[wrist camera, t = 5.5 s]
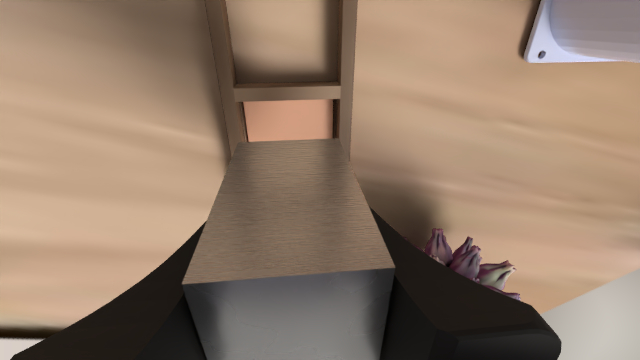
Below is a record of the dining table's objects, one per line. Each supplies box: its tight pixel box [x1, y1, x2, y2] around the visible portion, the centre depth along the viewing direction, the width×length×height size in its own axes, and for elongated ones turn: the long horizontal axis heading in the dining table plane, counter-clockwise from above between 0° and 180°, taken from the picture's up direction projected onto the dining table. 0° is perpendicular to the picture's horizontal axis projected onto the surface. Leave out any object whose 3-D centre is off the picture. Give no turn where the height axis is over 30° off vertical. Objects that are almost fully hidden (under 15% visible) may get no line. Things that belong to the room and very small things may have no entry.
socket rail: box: [205, 0, 358, 162], centre depth 17 cm, size 8×23×2 cm, turn 0°
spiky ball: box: [404, 229, 520, 301], centre depth 23 cm, size 12×12×12 cm
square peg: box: [182, 138, 395, 360], centre depth 11 cm, size 5×5×8 cm
